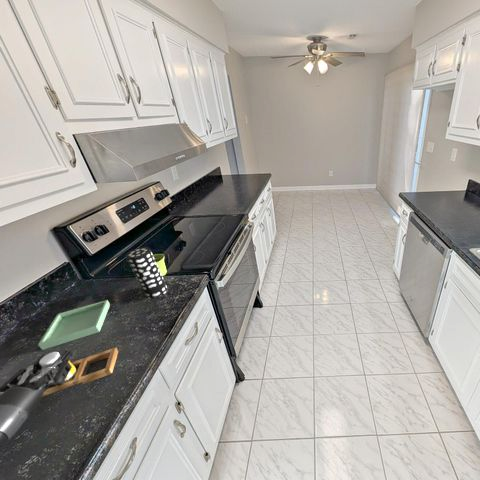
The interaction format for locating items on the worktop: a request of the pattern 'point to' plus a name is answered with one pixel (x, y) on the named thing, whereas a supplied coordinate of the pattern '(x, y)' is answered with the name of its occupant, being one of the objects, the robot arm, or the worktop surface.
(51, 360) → the supplement bottle
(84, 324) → the tray
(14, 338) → the worktop surface
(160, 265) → the plant pot
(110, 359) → the bottle rack
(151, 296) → the white-spotted black cylinder
